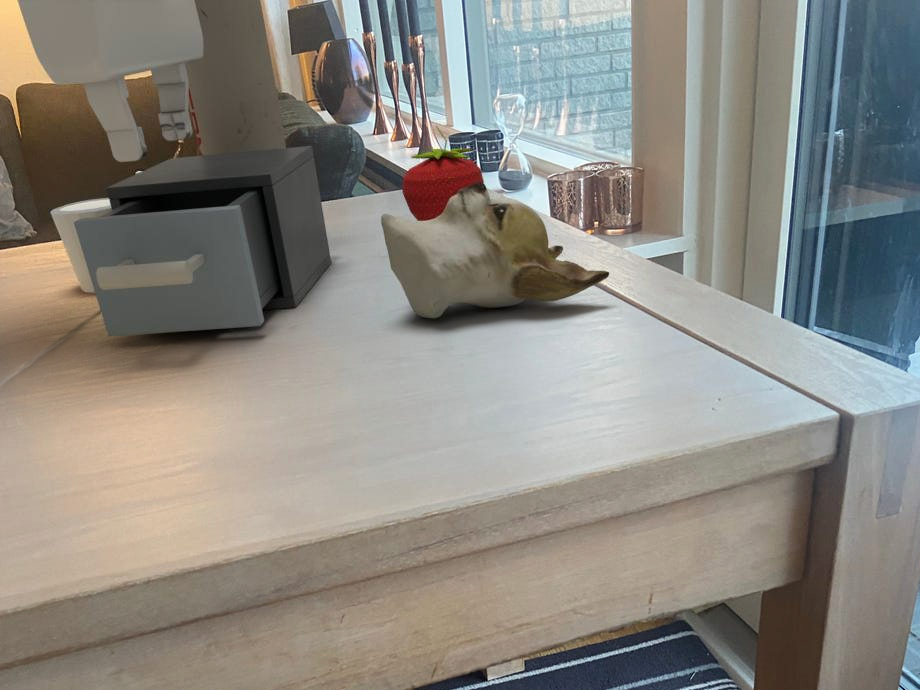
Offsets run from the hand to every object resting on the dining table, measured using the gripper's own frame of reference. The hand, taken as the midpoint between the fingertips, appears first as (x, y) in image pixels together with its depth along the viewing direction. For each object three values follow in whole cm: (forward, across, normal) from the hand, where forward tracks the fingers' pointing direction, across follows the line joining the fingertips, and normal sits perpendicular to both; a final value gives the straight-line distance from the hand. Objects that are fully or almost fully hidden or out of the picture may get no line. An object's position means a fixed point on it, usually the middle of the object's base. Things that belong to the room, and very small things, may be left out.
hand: (157, 149), depth 65 cm
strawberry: (+12, -20, +17) cm, 29 cm away
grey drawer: (+11, -1, 0) cm, 11 cm away
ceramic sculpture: (+12, 0, +22) cm, 25 cm away
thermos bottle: (+12, -26, -2) cm, 29 cm away
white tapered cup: (+12, -15, -13) cm, 24 cm away
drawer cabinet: (+12, -11, 0) cm, 17 cm away
